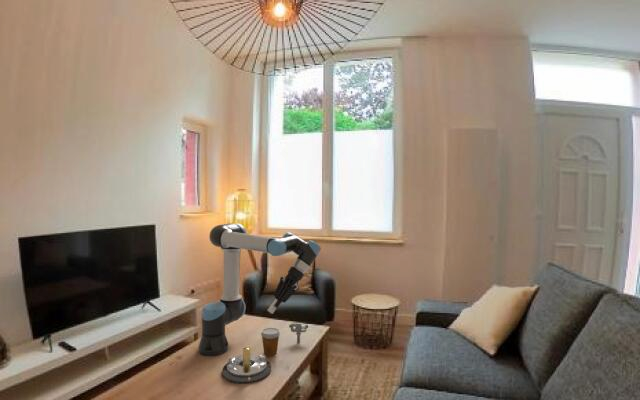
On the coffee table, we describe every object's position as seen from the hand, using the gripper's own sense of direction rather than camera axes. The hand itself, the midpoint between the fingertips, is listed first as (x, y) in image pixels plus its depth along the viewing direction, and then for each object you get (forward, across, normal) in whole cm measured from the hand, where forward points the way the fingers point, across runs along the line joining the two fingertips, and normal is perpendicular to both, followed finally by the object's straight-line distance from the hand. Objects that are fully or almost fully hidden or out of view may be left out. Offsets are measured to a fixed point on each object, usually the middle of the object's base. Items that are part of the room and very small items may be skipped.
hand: (270, 312), depth 177 cm
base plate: (+27, -1, -7) cm, 28 cm away
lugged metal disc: (+26, -1, -6) cm, 27 cm away
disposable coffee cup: (+18, +7, -23) cm, 30 cm away
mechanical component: (+7, +10, -39) cm, 41 cm away
